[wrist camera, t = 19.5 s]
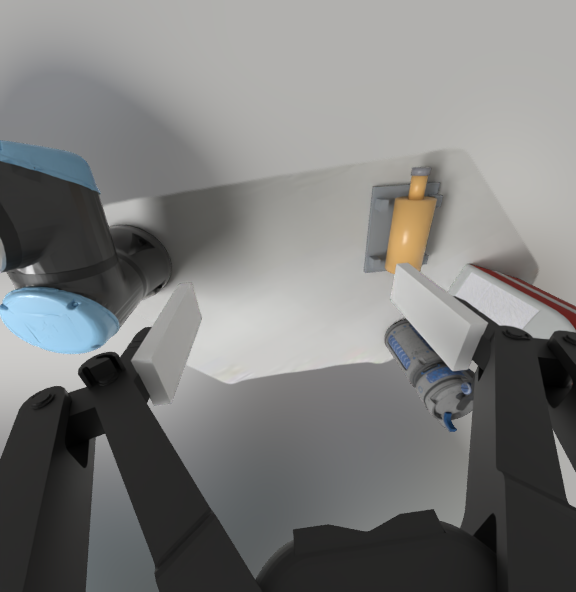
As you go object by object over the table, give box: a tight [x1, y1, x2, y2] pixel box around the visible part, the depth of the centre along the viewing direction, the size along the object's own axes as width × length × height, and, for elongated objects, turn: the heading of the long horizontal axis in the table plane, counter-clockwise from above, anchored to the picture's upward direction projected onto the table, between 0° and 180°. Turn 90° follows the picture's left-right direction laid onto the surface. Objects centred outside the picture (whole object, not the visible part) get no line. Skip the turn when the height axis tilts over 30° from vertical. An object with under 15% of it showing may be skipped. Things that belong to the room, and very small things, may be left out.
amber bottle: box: [385, 167, 437, 274], centre depth 48 cm, size 19×7×7 cm, turn 3°
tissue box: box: [447, 264, 576, 384], centre depth 53 cm, size 16×18×27 cm
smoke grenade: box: [385, 320, 475, 432], centre depth 57 cm, size 10×13×25 cm
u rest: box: [364, 182, 443, 273], centre depth 52 cm, size 18×13×4 cm
